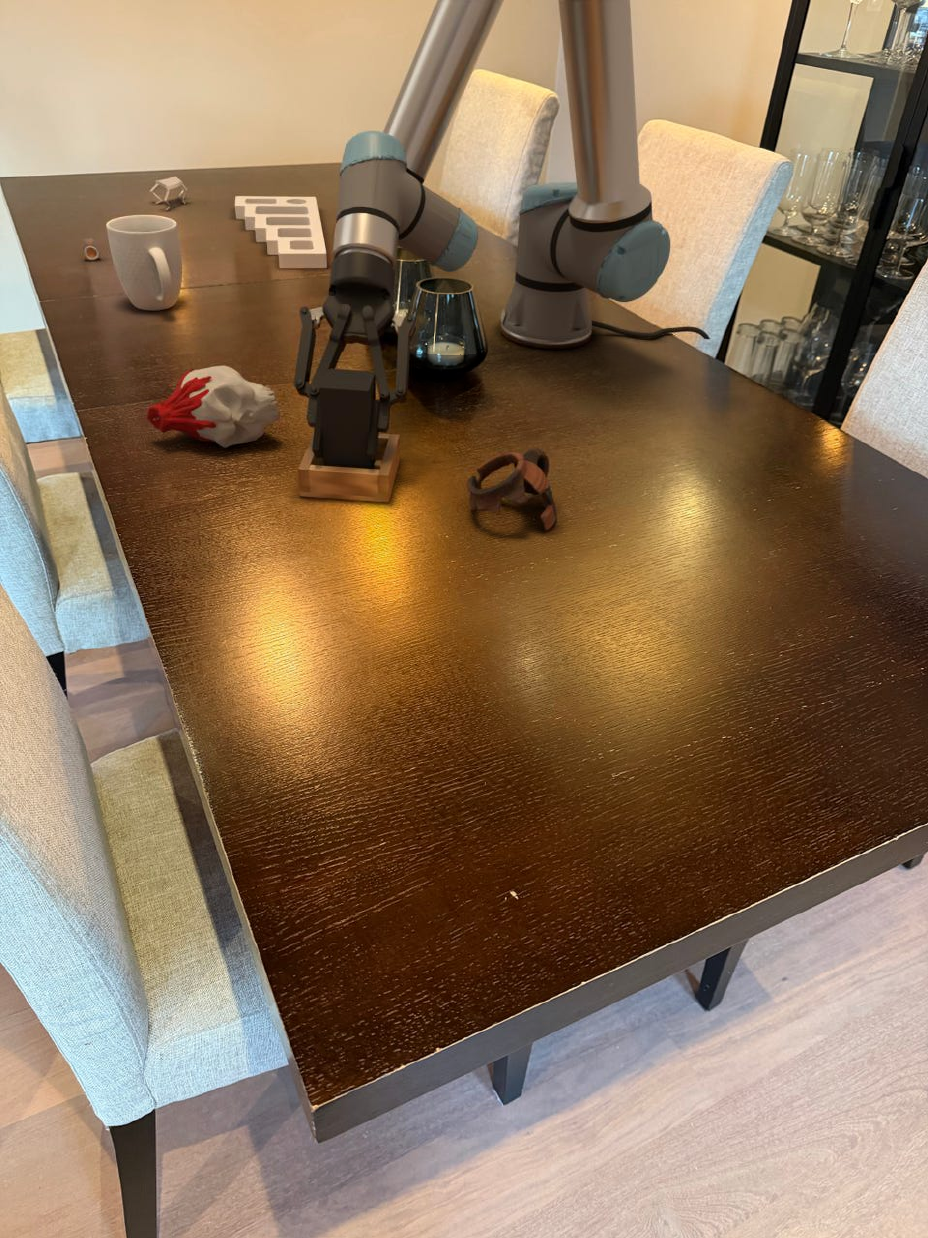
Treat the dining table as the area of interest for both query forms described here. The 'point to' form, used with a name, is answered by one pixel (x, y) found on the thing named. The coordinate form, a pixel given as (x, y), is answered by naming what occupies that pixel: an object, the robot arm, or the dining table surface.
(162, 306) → the mug
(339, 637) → the dining table surface
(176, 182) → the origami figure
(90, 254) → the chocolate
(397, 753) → the dining table surface
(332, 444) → the black block
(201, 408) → the white red lumpy piece
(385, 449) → the open wooden box
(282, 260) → the holder
